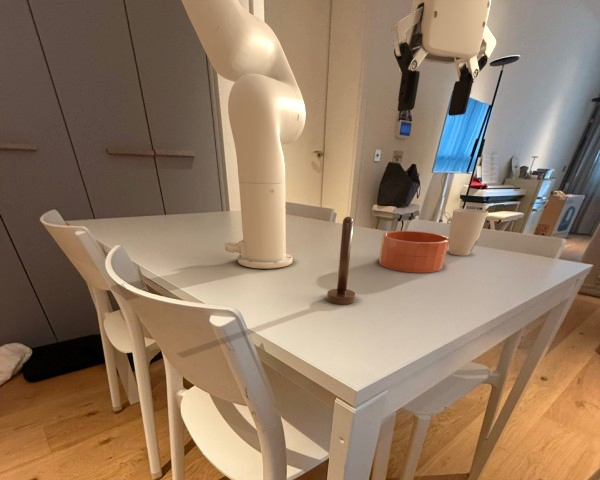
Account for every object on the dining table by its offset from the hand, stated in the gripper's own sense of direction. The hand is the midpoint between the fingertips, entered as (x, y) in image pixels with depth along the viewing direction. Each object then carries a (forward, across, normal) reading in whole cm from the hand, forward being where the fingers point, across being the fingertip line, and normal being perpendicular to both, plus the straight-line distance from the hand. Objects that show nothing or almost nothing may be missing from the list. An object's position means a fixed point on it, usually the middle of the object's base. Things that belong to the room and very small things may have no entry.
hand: (431, 112), depth 51 cm
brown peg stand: (+26, +15, +4) cm, 30 cm away
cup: (+26, -32, -17) cm, 45 cm away
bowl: (+26, -12, -12) cm, 31 cm away
